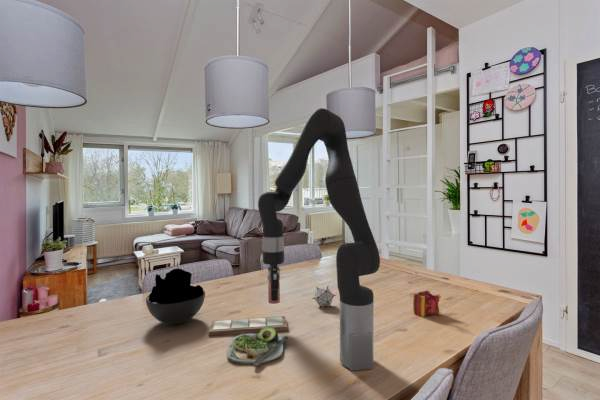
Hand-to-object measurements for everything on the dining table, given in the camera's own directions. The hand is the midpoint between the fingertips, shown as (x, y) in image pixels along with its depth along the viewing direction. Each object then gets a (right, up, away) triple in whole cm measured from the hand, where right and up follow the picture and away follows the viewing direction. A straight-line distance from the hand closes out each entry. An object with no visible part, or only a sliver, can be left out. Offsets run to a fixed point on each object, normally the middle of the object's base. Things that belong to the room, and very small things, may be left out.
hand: (274, 298), depth 115 cm
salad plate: (-4, -11, -15) cm, 19 cm away
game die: (+19, -10, +20) cm, 29 cm away
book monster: (+58, -10, +9) cm, 59 cm away
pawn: (0, -1, 0) cm, 1 cm away
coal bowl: (-36, -10, +5) cm, 37 cm away
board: (-9, -10, 0) cm, 13 cm away
